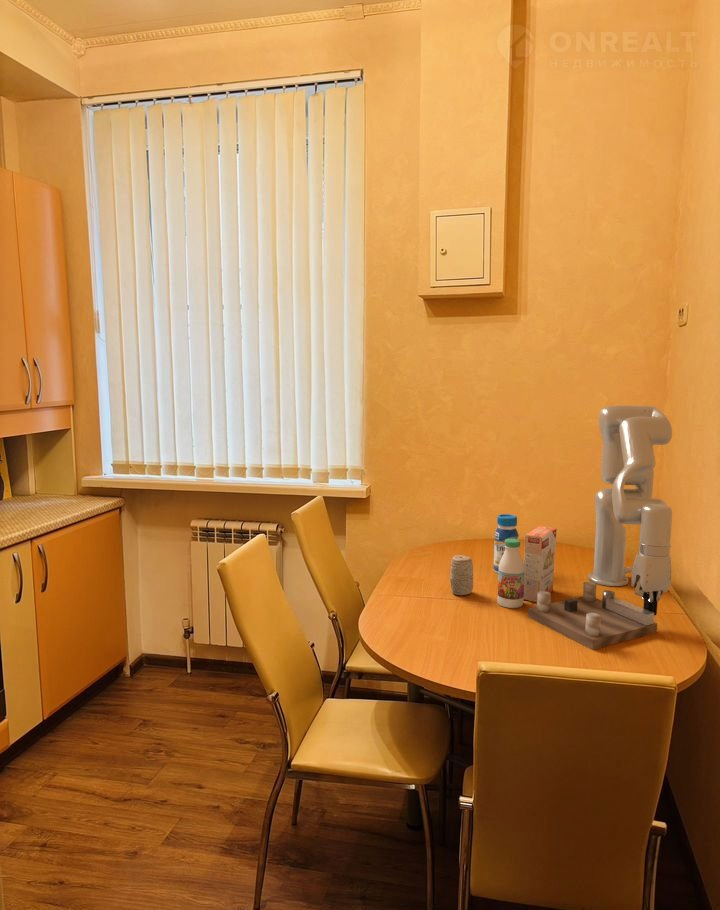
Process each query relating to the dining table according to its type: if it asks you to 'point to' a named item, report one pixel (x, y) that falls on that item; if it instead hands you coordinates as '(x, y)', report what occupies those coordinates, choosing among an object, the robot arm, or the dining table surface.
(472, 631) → the dining table surface
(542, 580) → the cracker box
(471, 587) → the carving
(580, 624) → the brown board with pegs
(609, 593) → the hinged leg
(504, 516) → the beverage bottle
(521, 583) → the milk bottle
